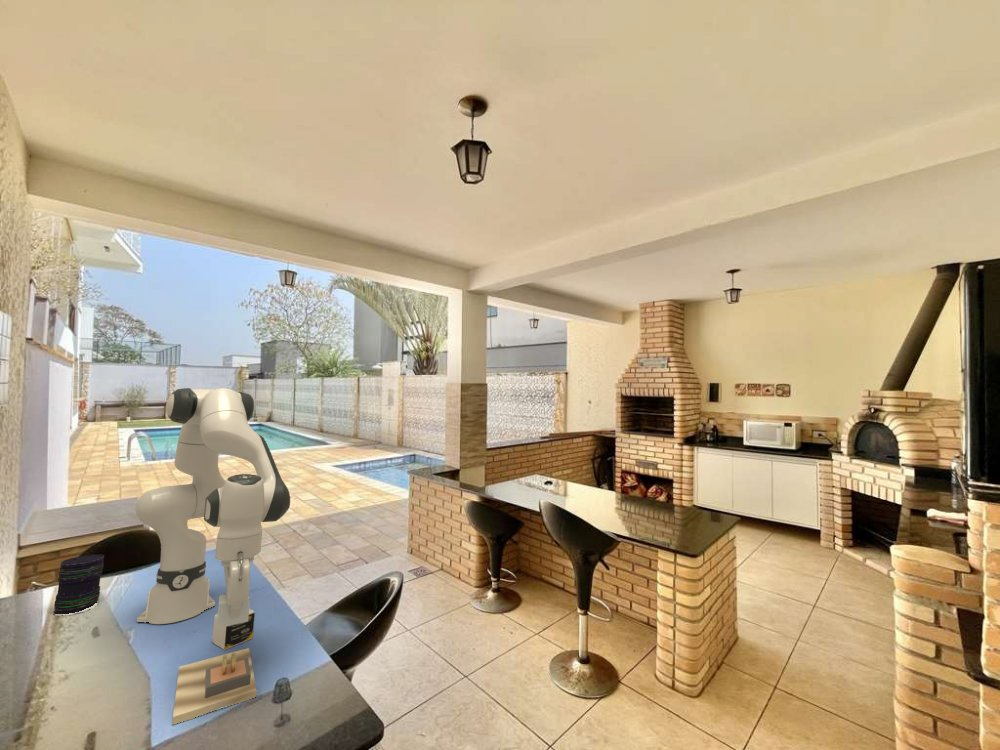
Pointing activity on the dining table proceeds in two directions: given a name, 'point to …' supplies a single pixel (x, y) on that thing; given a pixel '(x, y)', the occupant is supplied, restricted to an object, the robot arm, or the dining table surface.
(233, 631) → the medicine bottle
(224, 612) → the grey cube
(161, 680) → the dining table surface
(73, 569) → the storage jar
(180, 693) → the board
